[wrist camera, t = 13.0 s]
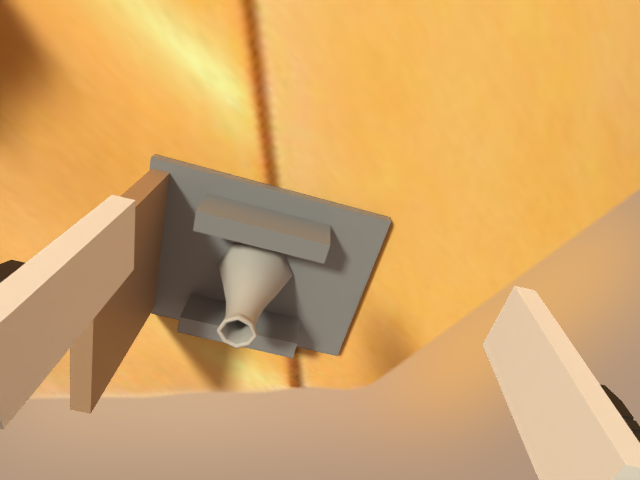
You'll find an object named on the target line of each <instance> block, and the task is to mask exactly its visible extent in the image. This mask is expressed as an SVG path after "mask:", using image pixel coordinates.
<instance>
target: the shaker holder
mask: <svg viewBox="0 0 640 480" xmlns="http://www.w3.org/2000/svg"><path fill="white" fill-rule="evenodd" d="M120 197H124V198H128V199H133V200H135V241H134V270H133V271H132V272H131V273H130V275H129V276H128V277H127V278H126V280H125V281H124V282H123V283H122V285H121V286H120V287H119V288H118V289H117V291H116V292H115V293H114V294H113V296H112V297H111V298H110V299H109V300H108V302H107V303H106V304H105V305H104V307H103V308H102V309H101V310H100V312H99V313H98V314H97V315H96V316H95V318H94V319H93V320H92V321H91V323H90V324H89V325H88V326H87V327H86V329H85V330H84V331H83V332H82V334H81V335H80V336H79V337H78V339H77V340H76V341H75V342H74V343H73V345H72V346H71V347H70V409H71V410H76V411H81V412H86V413H91V412H92V410H93V409H94V407H95V405H96V404H97V402H98V400H99V399H100V397H101V395H102V393H103V392H104V390H105V388H106V387H107V385H108V383H109V382H110V380H111V378H112V377H113V375H114V373H115V372H116V370H117V368H118V367H119V365H120V363H121V362H122V360H123V358H124V357H125V355H126V353H127V352H128V350H129V348H130V347H131V345H132V343H133V342H134V340H135V338H136V337H137V335H138V333H139V332H140V330H141V328H142V327H143V325H144V323H145V322H146V320H147V318H148V317H149V315H150V313H152V314H156V315H160V316H165V317H169V318H174V319H178V320H179V325H178V331H177V332H179V333H184V334H188V335H193V336H197V337H201V338H206V339H210V340H215V341H219V342H223V341H222V339H221V338H220V336H219V334H218V332H217V328H218V327H219V325H220V324H221V323H222V322H223V320H224V319H225V315H226V298H225V293H224V288H223V283H222V279H221V275H220V271H219V266H218V265H219V263H220V262H221V260H222V259H223V257H224V256H225V254H226V253H227V252H228V250H229V249H230V247H231V246H232V245H234V244H238V243H244V244H248V245H252V246H256V247H260V248H264V249H268V250H272V251H276V252H279V253H283V254H284V256H285V258H286V260H287V263H288V265H289V268H290V270H291V272H292V275H293V276H292V277H291V278H290V279H289V281H288V282H287V283H286V284H285V286H284V287H283V288H282V289H281V291H280V292H279V293H278V294H277V295H276V297H275V298H274V299H273V300H272V301H271V302H270V303H269V304H268V305H267V306H266V307H265V308H264V309H263V311H262V313H261V315H260V317H259V318H258V321H257V325H256V330H257V332H258V336H257V337H256V338H255V339H254V341H253V342H252V343H251V344H250V345H249V346H245V347H246V348H250V349H254V350H259V351H263V352H268V353H272V354H277V355H281V356H285V357H290V358H293V355H294V352H295V349H296V347H300V348H304V349H309V350H313V351H317V352H322V353H326V354H330V355H335V356H338V353H339V351H340V348H341V346H342V343H343V341H344V338H345V336H346V333H347V331H348V328H349V326H350V323H351V321H352V318H353V316H354V313H355V311H356V308H357V306H358V303H359V301H360V298H361V296H362V293H363V291H364V288H365V286H366V283H367V281H368V278H369V276H370V273H371V271H372V268H373V266H374V263H375V261H376V259H377V256H378V254H379V251H380V249H381V246H382V244H383V241H384V239H385V236H386V234H387V231H388V229H389V226H390V224H391V219H390V217H387V216H383V215H379V214H376V213H372V212H368V211H365V210H361V209H357V208H353V207H350V206H346V205H342V204H338V203H335V202H331V201H327V200H324V199H320V198H316V197H312V196H309V195H305V194H301V193H298V192H294V191H290V190H286V189H283V188H279V187H275V186H272V185H268V184H264V183H260V182H257V181H253V180H249V179H246V178H242V177H238V176H234V175H231V174H227V173H223V172H219V171H216V170H212V169H208V168H205V167H201V166H197V165H193V164H190V163H186V162H182V161H179V160H175V159H171V158H167V157H164V156H160V155H156V154H155V155H153V156H152V157H151V163H150V171H149V172H147V173H146V174H145V175H144V176H143V177H142V178H141V179H140V180H138V181H137V182H136V183H135V184H134V185H133V186H132V187H131V188H129V189H128V190H127V191H126V192H125V193H124V194H123V195H121V196H120ZM223 343H224V342H223Z"/></svg>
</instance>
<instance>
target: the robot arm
mask: <svg viewBox="0 0 640 480" xmlns="http://www.w3.org/2000/svg"><path fill="white" fill-rule="evenodd" d="M134 241H135V200H133V199H128V198H124V197H119V196H115V195H111V196H110V197H109V198H107V199H106V200H105V201H103V202H102V203H101V204H100V205H98V206H97V207H96V208H95V209H93V210H92V211H91V212H90V213H88V214H87V215H86V216H85V217H83V218H82V219H81V220H79V221H78V222H77V223H76V224H74V225H73V226H72V227H71V228H69V229H68V230H67V231H66V232H64V233H63V234H62V235H60V236H59V237H58V238H57V239H55V240H54V241H53V242H52V243H50V244H49V245H48V246H47V247H45V248H44V249H43V250H42V251H40V252H39V253H38V254H36V255H35V256H34V257H33V258H31V259H30V260H29V261H28V262H26V263H24V262H19V261H15V260H10V261H7V262H5V263H2V264H0V429H4V428H5V427H6V426H7V424H8V423H9V422H10V421H11V420H12V418H13V417H14V416H15V415H16V413H17V412H18V411H19V410H20V409H21V407H22V406H23V405H24V404H25V402H26V401H27V400H28V399H29V397H30V396H31V395H32V394H33V393H34V391H35V390H36V389H37V388H38V386H39V385H40V384H41V383H42V382H43V380H44V379H45V378H46V377H47V375H48V374H49V373H50V372H51V370H52V369H53V368H54V367H55V366H56V364H57V363H58V362H59V361H60V359H61V358H62V357H63V356H64V354H65V353H66V352H67V351H68V350H69V348H70V347H71V346H72V345H73V343H74V342H75V341H76V340H77V339H78V337H79V336H80V335H81V334H82V332H83V331H84V330H85V329H86V327H87V326H88V325H89V324H90V323H91V321H92V320H93V319H94V318H95V316H96V315H97V314H98V313H99V312H100V310H101V309H102V308H103V307H104V305H105V304H106V303H107V302H108V300H109V299H110V298H111V297H112V296H113V294H114V293H115V292H116V291H117V289H118V288H119V287H120V286H121V285H122V283H123V282H124V281H125V280H126V278H127V277H128V276H129V275H130V273H131V272H132V271H133V270H134ZM483 347H484V349H485V352H486V354H487V356H488V359H489V362H490V364H491V366H492V369H493V371H494V374H495V376H496V378H497V381H498V383H499V385H500V388H501V390H502V393H503V395H504V398H505V400H506V402H507V404H508V407H509V409H510V412H511V414H512V417H513V419H514V422H515V424H516V426H517V429H518V431H519V434H520V436H521V438H522V441H523V443H524V446H525V448H526V451H527V453H528V455H529V457H530V460H531V462H532V465H533V467H534V470H535V472H536V475H537V477H538V479H539V480H640V426H639V425H638V423H637V422H636V421H634V420H633V416H632V415H631V414H630V412H629V411H628V410H627V408H626V407H625V405H624V404H623V402H622V401H621V400H620V399H619V398H618V397H617V396H616V395H615V394H613V393H612V392H611V391H610V390H609V389H608V388H607V387H606V386H605V385H600V384H599V383H598V382H597V380H596V378H595V377H594V375H593V374H592V373H591V371H590V370H589V368H588V367H587V365H586V364H585V362H584V361H583V360H582V358H581V357H580V355H579V354H578V352H577V351H576V349H575V348H574V346H573V345H572V343H571V342H570V340H569V339H568V338H567V336H566V335H565V333H564V332H563V330H562V329H561V327H560V326H559V324H558V323H557V322H556V320H555V319H554V317H553V316H552V314H551V313H550V311H549V310H548V308H547V307H546V305H545V304H544V302H543V301H542V300H541V298H540V297H539V296H538V294H537V292H536V291H535V290H530V289H526V288H522V287H517V286H514V288H513V290H512V292H511V293H510V295H509V297H508V299H507V301H506V303H505V305H504V306H503V308H502V310H501V312H500V314H499V315H498V317H497V319H496V321H495V323H494V325H493V326H492V328H491V330H490V332H489V334H488V336H487V338H486V339H485V341H484V343H483Z"/></svg>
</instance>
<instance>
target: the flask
mask: <svg viewBox="0 0 640 480" xmlns="http://www.w3.org/2000/svg"><path fill="white" fill-rule="evenodd" d="M218 266H219V271H220V275H221V279H222V283H223V288H224V293H225V298H226V315H225V319H224V320H223V322H222V323H221V324H220V325H219V327H218V328H217V332H218V334H219V336H220V338H221V339H222V341H223V342H224V343H226V344H228V345H230V346H232V347H234V348H240V347H245V346H249V345H250V344H251V343H252V342H253V341H254V339H255V338H256V337H257V336H258V332H257V330H256V325H257V321H258V318H259V317H260V315H261V313H262V311H263V309H264V308H265V307H266V306H267V305H268V304H269V303H270V302H271V301H272V300H273V299H274V298H275V297H276V295H277V294H278V293H279V292H280V291H281V289H282V288H283V287H284V286H285V284H286V283H287V282H288V281H289V279H290V278H291V277H292V276H293V275H292V272H291V270H290V268H289V265H288V263H287V260H286V258H285V256H284V254H283V253H279V252H276V251H272V250H268V249H264V248H260V247H256V246H252V245H248V244H244V243H238V244H234V245H232V246H231V247H230V249H229V250H228V252H227V253H226V254H225V256H224V257H223V259H222V260H221V262H220V263H219V265H218Z"/></svg>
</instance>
